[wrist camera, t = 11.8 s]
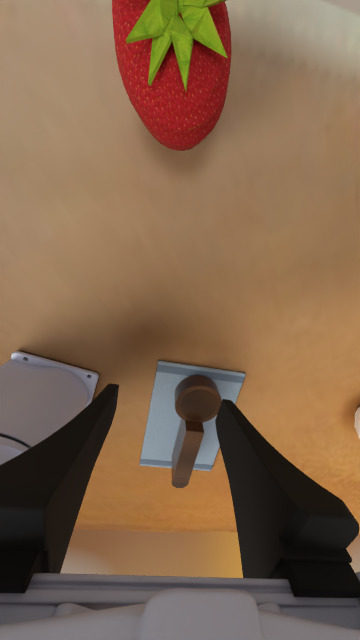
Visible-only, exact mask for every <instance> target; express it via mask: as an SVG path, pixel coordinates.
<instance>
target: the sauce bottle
mask: <svg viewBox="0 0 360 640" xmlns="http://www.w3.org/2000/svg"><path fill="white" fill-rule="evenodd" d="M354 425H355V429H356V431H357V434H358V436H359V438H360V407H359V408H358V409H357V411H356V413H355V424H354Z"/></svg>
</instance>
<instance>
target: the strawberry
mask: <svg viewBox="0 0 360 640" xmlns="http://www.w3.org/2000/svg"><path fill="white" fill-rule="evenodd" d="M225 1H226V0H112V14H113V28H114V39H115V49H116V55H117V61H118V66H119V71H120V74H121V77H122V80H123V84H124V87H125V89H126V92H127V94H128V96H129V99H130V101H131V103H132V105H133V106H134V108H135V110H136V112H137V113H138V115H139V117H140V118H141V120H142V121H143V123H144V125H145V126H146V128H147V129H148V130H149V132H150V133H151V134H152V135H153V137H154V138H155V139H157V140H158V141H159V142H160V143H161V144H163V145H164V146H166V147H168V148H170V149H173V150H176V151H185V150H188V149H191V148H193V147H194V146H196V145H197V144H199V143H200V142H201V141H202V140H203V139H204V138H205V137H206V136H207V135H208V134H209V133H210V132H211V131H212V129H213V128H214V126H215V125H216V123H217V121H218V119H219V117H220V115H221V112H222V109H223V106H224V103H225V98H226V93H227V87H228V80H229V73H230V63H231V32H230V25H229V18H228V12H227V8H226V4H225Z"/></svg>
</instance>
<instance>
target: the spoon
mask: <svg viewBox="0 0 360 640" xmlns="http://www.w3.org/2000/svg"><path fill="white" fill-rule="evenodd" d="M174 397H175V410H176V413H177V414H178V416H179V417H180V418H181V422H180V426H179V430H178V434H177V437H176V441H175V445H174V449H173V453H172V485H173V486H174V487H176V488H183V487H185V486H187V485H188V483H189V480H190V476H191V473H192V470H193V467H194V464H195V461H196V458H197V454H198V451H199V448H200V445H201V442H202V439H203V436H204V428H203V422H207V421H209V420H211V419H213V418H214V417H215V416H216V415H217V414H218V411H219V408H220V405H221V403H222V399H221V396H220V393H219V390H218V388H217V385H216V384H215V382H214V381H213V380H211V379H210V378H208V377H205V376H200V375H195V376H190V377H187V378H185V379H184V380H182V381H181V382H180V383H179V384H178V385H177V387H176V389H175V393H174Z"/></svg>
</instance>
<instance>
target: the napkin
mask: <svg viewBox="0 0 360 640" xmlns="http://www.w3.org/2000/svg"><path fill="white" fill-rule="evenodd" d="M195 375H200V376H205V377H208V378H210V379H211V380H213V381H214V382H215V384H216V385H217V388H218V390H219V393H220V396H221V399H222V400H223V399H227V400H231V401H232V402H233V403H234V404H235V402H236V400H237V397H238V394H239V391H240V389H241V386H242V383H243V381H244V378H245V375H246V374H245V373H243V372H236V371H229V370H222V369H216V368H209V367H202V366H195V365H188V364H181V363H174V362H167V361H160V360H158V365H157V371H156V376H155V382H154V387H153V393H152V399H151V404H150V410H149V415H148V421H147V426H146V432H145V437H144V443H143V448H142V454H141V460H140V465H143V466H155V467H167V468H172V453H173V449H174V445H175V441H176V437H177V434H178V430H179V426H180V422H181V418H180V417H179V416H178V414H177V413H176V410H175V397H174V393H175V389H176V387H177V385H178V384H179V383H180V382H181V381H182V380H184V379H185V378H187V377H190V376H195ZM216 417H217V415H216V416H215V417H214V418H213V419H211V420H209V421H207V422H203V428H204V436H203V439H202V442H201V445H200V448H199V451H198V454H197V458H196V461H195V464H194V467H193V470H204V471H211V469H212V466H213V463H214V460H215V458H216V455H217V452H218V449H219V447H220V445H219V441H218V437H217V431H216V424H215V420H216Z"/></svg>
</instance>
